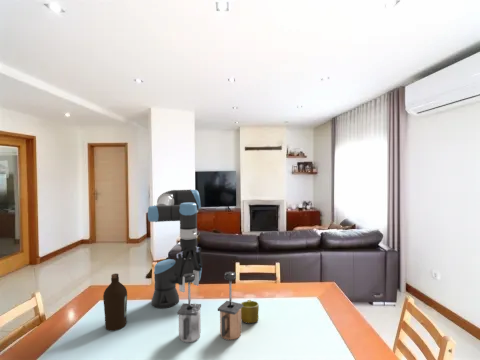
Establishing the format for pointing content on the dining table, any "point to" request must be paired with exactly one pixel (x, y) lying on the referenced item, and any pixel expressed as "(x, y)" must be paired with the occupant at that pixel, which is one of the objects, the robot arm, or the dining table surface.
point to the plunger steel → (189, 278)
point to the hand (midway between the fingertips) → (189, 287)
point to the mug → (249, 311)
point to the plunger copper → (230, 285)
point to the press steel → (189, 323)
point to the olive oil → (115, 304)
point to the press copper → (230, 320)
